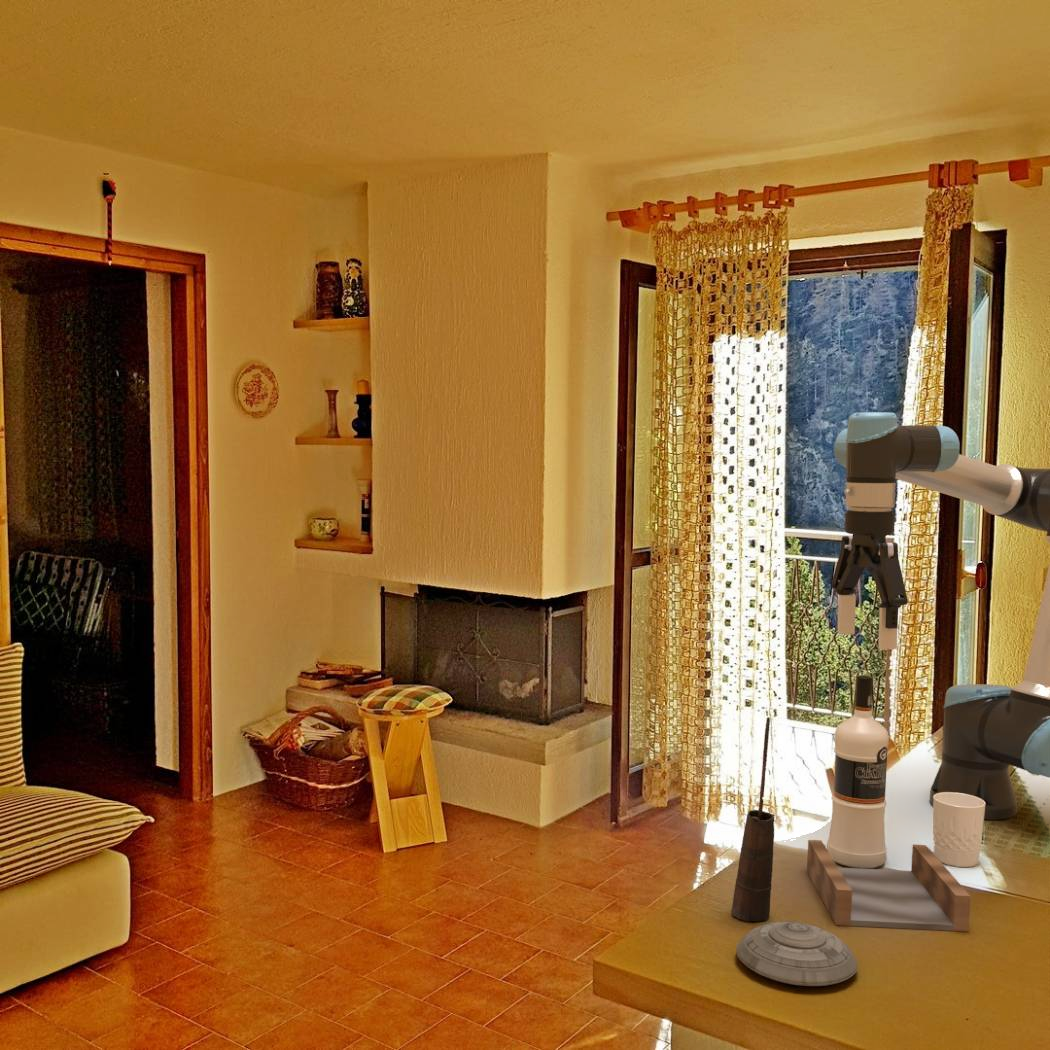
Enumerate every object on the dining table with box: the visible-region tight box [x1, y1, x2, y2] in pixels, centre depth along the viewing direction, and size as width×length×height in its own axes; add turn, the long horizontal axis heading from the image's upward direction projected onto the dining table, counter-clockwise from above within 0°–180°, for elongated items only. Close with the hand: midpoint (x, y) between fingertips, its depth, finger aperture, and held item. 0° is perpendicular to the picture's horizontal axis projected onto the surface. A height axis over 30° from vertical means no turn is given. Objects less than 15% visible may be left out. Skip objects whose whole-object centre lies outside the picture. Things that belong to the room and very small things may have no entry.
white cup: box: [932, 792, 986, 868], centre depth 180 cm, size 8×8×10 cm
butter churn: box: [731, 716, 775, 923], centre depth 155 cm, size 9×10×28 cm
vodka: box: [826, 674, 890, 869], centre depth 179 cm, size 9×9×30 cm
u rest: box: [806, 839, 971, 933], centre depth 163 cm, size 20×18×5 cm
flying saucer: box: [735, 920, 859, 987], centre depth 141 cm, size 15×15×6 cm
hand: (866, 641), depth 180 cm, fingers open, 13 cm apart
